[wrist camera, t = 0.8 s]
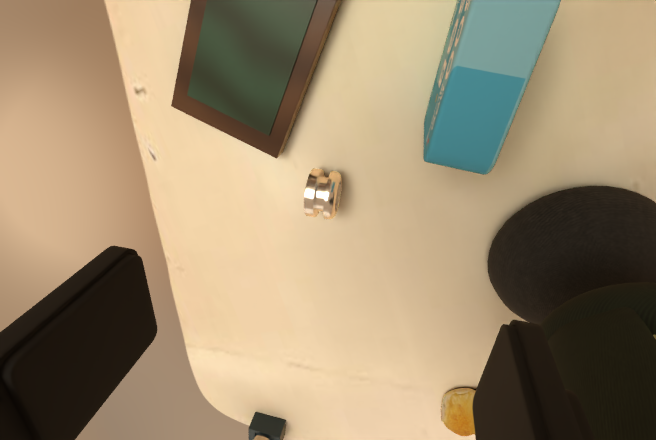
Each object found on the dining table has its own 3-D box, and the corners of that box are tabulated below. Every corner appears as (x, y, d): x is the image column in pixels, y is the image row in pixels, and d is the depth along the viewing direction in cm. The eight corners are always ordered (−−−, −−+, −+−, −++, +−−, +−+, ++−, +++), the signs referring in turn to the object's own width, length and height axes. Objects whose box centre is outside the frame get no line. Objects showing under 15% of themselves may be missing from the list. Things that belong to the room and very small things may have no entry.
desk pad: (228, -131, 30) (215, -139, 29) (364, -60, 31) (360, -64, 29) (181, 101, 41) (169, 106, 39) (282, 152, 42) (276, 159, 40)
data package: (465, -29, 30) (484, -39, 20) (523, -19, 30) (573, -25, 20) (423, 120, 37) (422, 168, 27) (471, 129, 36) (488, 183, 26)
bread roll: (502, 427, 56) (507, 455, 53) (438, 416, 58) (438, 442, 54) (515, 391, 52) (521, 419, 48) (445, 379, 53) (446, 406, 50)
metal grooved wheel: (317, 161, 41) (304, 180, 37) (344, 164, 41) (335, 184, 37) (315, 202, 44) (303, 224, 40) (340, 206, 43) (331, 229, 39)
